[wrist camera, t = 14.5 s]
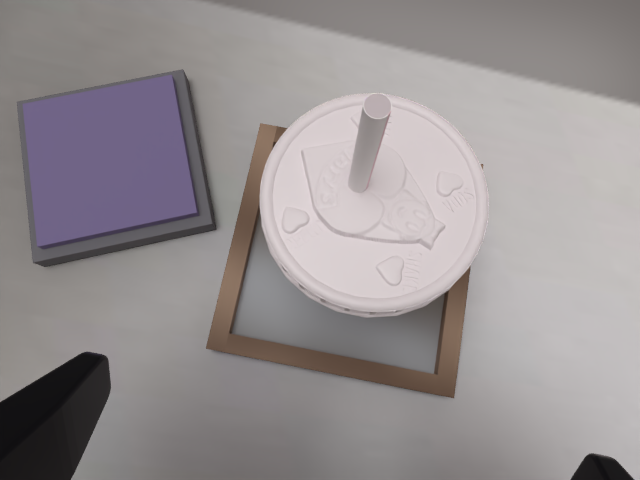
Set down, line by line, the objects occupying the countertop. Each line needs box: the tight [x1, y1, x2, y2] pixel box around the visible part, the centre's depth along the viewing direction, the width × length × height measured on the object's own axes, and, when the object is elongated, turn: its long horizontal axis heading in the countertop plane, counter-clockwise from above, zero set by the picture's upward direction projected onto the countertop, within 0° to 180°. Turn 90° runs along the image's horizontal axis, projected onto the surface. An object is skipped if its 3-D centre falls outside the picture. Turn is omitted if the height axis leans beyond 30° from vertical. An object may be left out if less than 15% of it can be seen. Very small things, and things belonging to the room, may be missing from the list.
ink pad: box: [17, 69, 216, 267], centre depth 24 cm, size 8×8×2 cm
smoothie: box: [260, 93, 489, 318], centre depth 16 cm, size 6×6×14 cm
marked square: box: [206, 123, 483, 398], centre depth 23 cm, size 11×11×1 cm
